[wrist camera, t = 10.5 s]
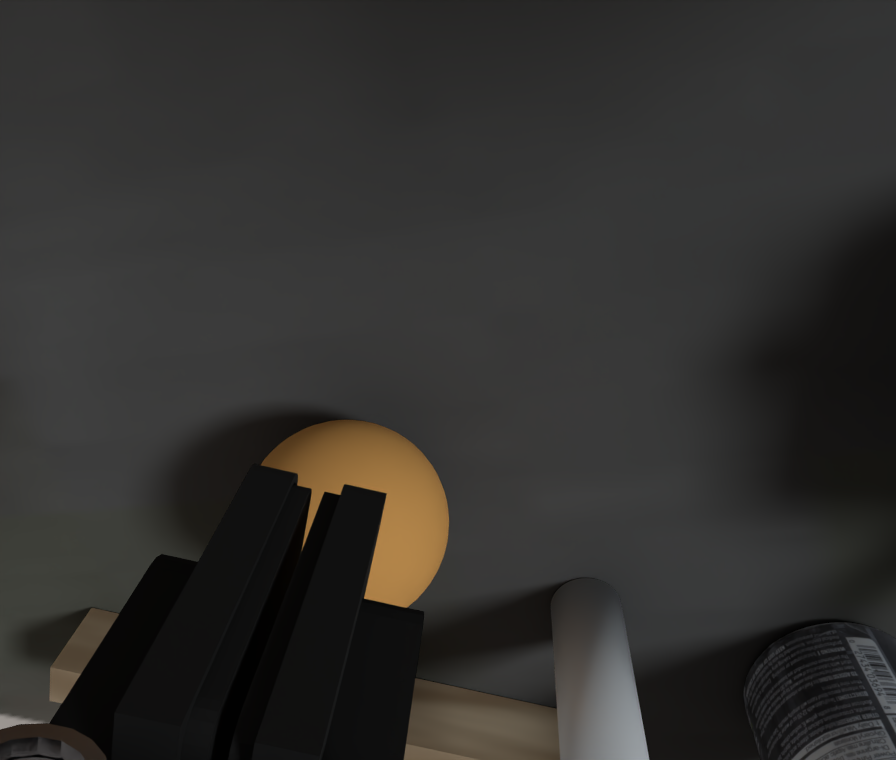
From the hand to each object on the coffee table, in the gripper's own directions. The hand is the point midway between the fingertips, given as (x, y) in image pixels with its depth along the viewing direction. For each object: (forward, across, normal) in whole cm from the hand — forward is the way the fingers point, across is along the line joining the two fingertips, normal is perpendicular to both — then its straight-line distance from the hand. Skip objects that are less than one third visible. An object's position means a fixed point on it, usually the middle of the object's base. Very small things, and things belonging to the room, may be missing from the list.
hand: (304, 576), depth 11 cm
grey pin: (+15, -8, +11) cm, 20 cm away
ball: (+12, 0, +8) cm, 14 cm away
